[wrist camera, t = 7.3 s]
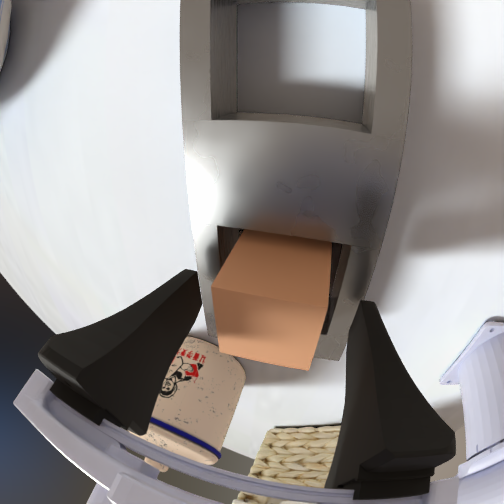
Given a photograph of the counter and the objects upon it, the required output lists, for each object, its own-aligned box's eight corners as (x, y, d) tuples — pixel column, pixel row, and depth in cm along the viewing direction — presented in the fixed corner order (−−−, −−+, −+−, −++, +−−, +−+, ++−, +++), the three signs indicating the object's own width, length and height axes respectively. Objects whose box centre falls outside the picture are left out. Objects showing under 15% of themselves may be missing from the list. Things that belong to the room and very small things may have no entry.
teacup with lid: (208, 324, 21) (140, 458, 11) (267, 384, 24) (231, 496, 15) (131, 340, 26) (77, 424, 17) (185, 387, 30) (147, 466, 20)
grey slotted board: (213, -27, 7) (183, -48, 5) (389, -22, 5) (403, -47, 3) (224, 302, 19) (208, 335, 16) (341, 323, 17) (338, 360, 14)
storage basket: (397, 456, 32) (387, 526, 20) (315, 462, 40) (299, 525, 28) (377, 413, 23) (360, 536, 12) (254, 421, 31) (220, 516, 19)
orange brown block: (332, 221, 13) (328, 307, 8) (321, 282, 16) (308, 370, 11) (254, 211, 14) (210, 286, 9) (254, 271, 16) (219, 352, 12)
